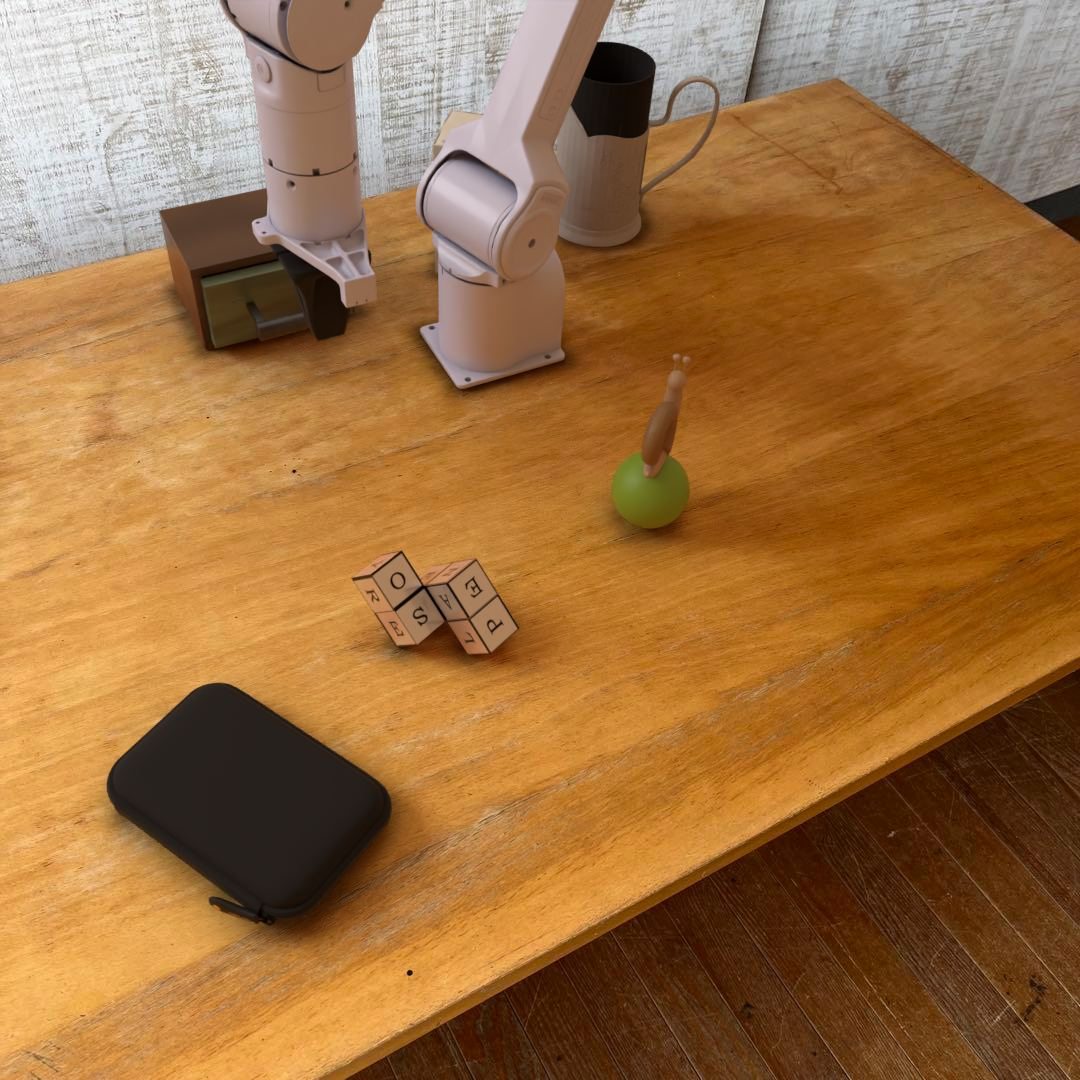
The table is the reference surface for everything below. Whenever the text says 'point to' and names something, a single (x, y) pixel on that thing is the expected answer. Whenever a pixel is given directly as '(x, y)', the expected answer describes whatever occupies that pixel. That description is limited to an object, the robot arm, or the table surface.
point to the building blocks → (436, 602)
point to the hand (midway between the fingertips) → (327, 332)
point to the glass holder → (613, 145)
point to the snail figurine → (655, 466)
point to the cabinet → (212, 246)
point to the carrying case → (249, 803)
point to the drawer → (251, 304)
